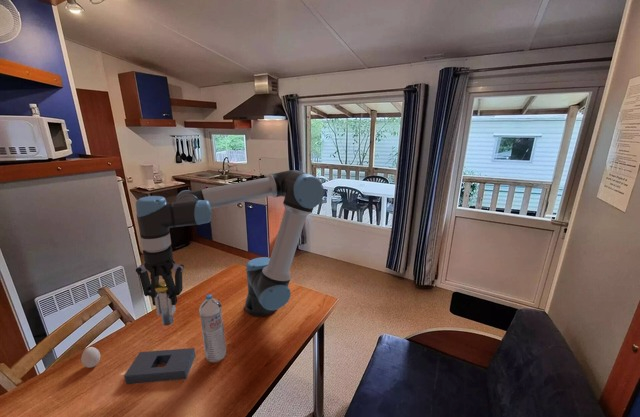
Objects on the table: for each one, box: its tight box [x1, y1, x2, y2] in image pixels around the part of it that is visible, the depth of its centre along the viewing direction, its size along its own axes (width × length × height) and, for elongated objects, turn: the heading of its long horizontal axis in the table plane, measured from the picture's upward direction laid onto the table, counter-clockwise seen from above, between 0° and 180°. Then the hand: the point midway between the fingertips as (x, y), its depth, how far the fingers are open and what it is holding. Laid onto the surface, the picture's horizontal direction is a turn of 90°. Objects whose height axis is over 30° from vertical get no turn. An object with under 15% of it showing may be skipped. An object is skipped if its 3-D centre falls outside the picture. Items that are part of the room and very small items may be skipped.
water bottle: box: [198, 294, 227, 364], centre depth 89 cm, size 7×7×25 cm
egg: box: [80, 346, 101, 369], centre depth 87 cm, size 5×5×7 cm
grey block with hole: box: [123, 347, 197, 385], centre depth 86 cm, size 18×9×4 cm, turn 97°
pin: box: [155, 281, 174, 327], centre depth 84 cm, size 5×5×14 cm
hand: (166, 312), depth 85 cm, fingers closed on pin, 3 cm apart
